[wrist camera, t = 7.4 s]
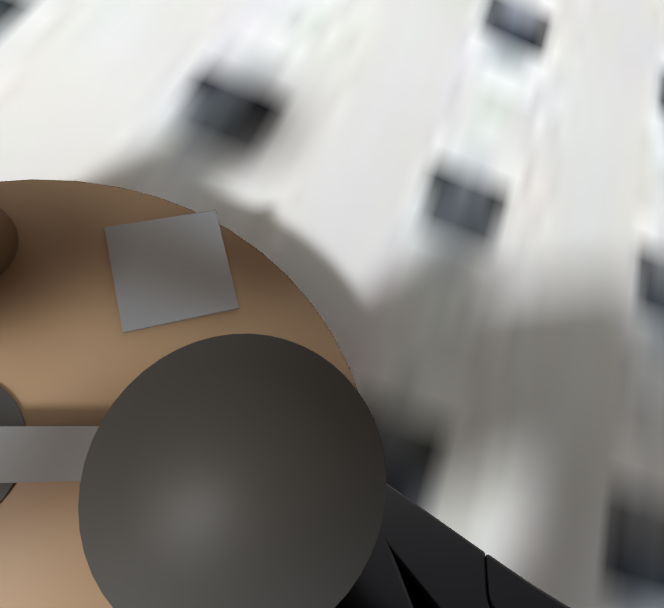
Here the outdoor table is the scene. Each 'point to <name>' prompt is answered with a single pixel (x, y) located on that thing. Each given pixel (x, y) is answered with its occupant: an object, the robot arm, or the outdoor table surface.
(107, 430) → the hinged leg
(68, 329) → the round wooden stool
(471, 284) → the outdoor table surface
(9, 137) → the outdoor table surface
